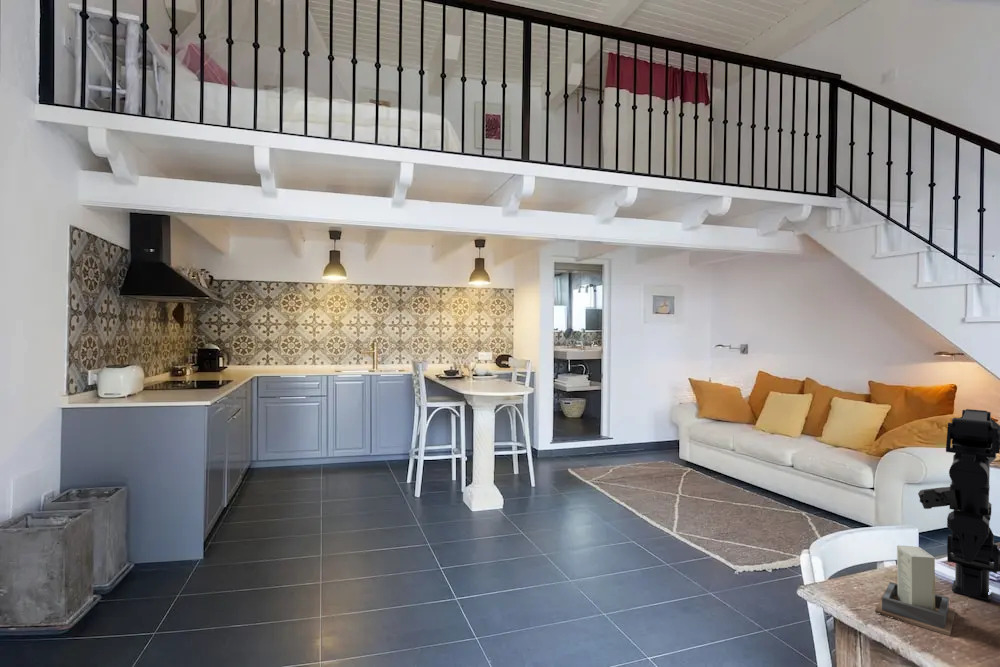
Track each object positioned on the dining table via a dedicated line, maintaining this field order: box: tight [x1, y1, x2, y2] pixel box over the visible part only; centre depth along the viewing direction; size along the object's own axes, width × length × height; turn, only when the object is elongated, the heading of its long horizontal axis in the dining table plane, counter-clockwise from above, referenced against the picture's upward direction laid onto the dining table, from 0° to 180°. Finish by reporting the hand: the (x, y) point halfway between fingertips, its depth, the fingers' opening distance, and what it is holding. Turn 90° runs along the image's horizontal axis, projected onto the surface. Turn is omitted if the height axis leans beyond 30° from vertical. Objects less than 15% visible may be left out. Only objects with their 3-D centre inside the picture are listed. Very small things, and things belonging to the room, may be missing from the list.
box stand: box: [874, 581, 956, 637], centre depth 113 cm, size 12×12×3 cm
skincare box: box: [896, 544, 936, 611], centre depth 113 cm, size 6×4×12 cm
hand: (969, 554), depth 113 cm, fingers open, 9 cm apart
